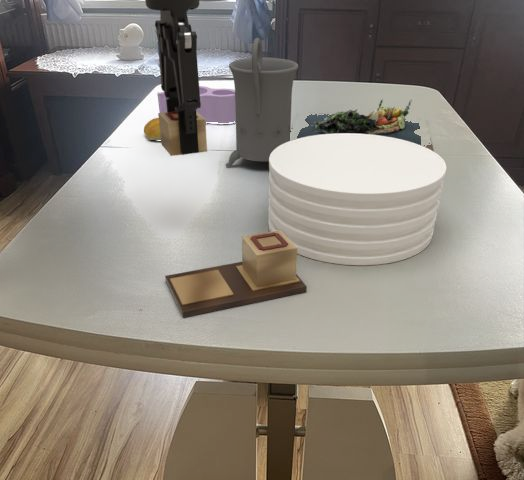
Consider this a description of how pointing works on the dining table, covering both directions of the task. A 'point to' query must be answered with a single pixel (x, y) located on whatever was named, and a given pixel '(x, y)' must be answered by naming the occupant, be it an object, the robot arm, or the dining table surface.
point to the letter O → (269, 258)
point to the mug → (261, 104)
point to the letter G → (171, 132)
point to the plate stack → (355, 197)
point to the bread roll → (153, 129)
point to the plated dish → (365, 124)
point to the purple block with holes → (211, 104)
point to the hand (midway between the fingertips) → (184, 146)
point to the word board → (223, 289)
